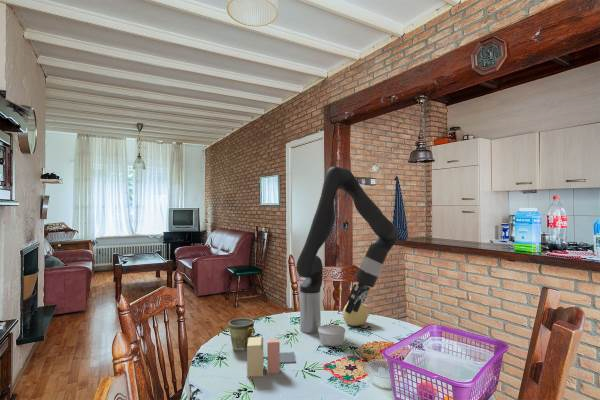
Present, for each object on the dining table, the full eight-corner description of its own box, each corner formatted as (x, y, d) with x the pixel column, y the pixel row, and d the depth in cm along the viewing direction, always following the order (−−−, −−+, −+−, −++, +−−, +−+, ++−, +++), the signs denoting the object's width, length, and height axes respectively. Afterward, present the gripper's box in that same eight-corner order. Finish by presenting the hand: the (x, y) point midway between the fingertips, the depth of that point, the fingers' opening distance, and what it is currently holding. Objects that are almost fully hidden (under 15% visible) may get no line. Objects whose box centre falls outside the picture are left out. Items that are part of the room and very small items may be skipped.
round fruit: (372, 323, 159) (372, 300, 160) (359, 330, 150) (359, 305, 151) (352, 318, 167) (351, 296, 167) (338, 324, 158) (338, 301, 158)
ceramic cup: (223, 347, 131) (223, 322, 131) (243, 340, 138) (243, 316, 139) (243, 357, 122) (243, 329, 123) (264, 349, 130) (264, 323, 130)
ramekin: (327, 349, 129) (327, 335, 129) (313, 339, 139) (313, 327, 139) (351, 344, 134) (350, 330, 134) (335, 335, 144) (335, 322, 144)
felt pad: (272, 354, 125) (272, 353, 125) (293, 353, 126) (293, 352, 126) (272, 363, 117) (272, 362, 117) (295, 362, 118) (295, 361, 118)
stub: (279, 368, 113) (279, 338, 114) (279, 372, 110) (279, 342, 111) (267, 369, 113) (267, 339, 113) (267, 373, 110) (267, 342, 110)
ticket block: (265, 366, 115) (265, 336, 115) (265, 376, 108) (265, 344, 108) (248, 367, 114) (248, 337, 115) (247, 377, 107) (247, 345, 108)
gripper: (364, 268, 132) (348, 306, 131) (354, 265, 119) (335, 307, 118) (382, 276, 128) (365, 315, 127) (373, 275, 116) (354, 318, 115)
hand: (351, 311), depth 123 cm, fingers open, 8 cm apart
